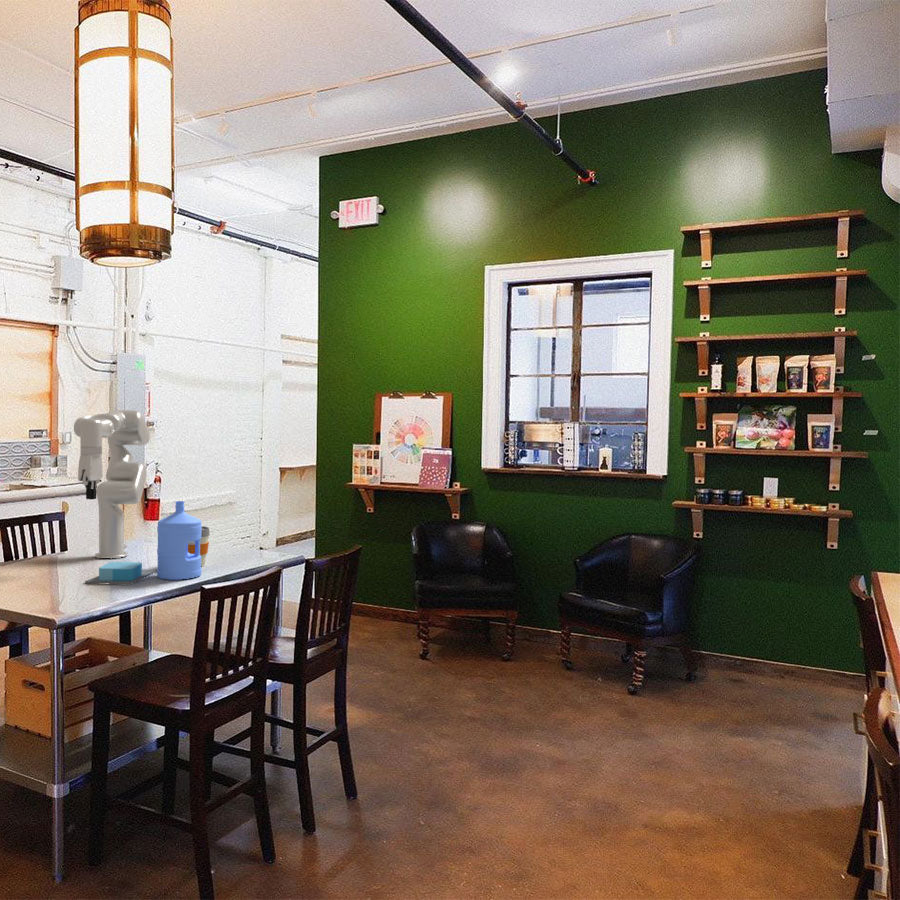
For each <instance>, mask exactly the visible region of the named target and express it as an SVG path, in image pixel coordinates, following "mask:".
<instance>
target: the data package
mask: <svg viewBox="0 0 900 900" xmlns="http://www.w3.org/2000/svg"><path fill="white" fill-rule="evenodd" d="M142 570H143V563H142V562H141V561H139V562H138V561H122V562H121V561H111V562H110V561H109V562H108V563H106V564H103V565H101V566H100V567H98V576H99V580H100V581H132V580H134V579H136V578H137V577H139V576H140V575H142Z"/></svg>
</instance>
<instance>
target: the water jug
mask: <svg viewBox="0 0 900 900" xmlns="http://www.w3.org/2000/svg"><path fill="white" fill-rule="evenodd" d="M174 508H175V511H174V513H172V514H170V515H168V516H165V517H164V518H162V519H159V520H158V521H157V530H156V531H157V549H156V553H157V554H156V555H157V573H156V575H157V577H158V578H159V579H161V580H164V579H169V580H168V581H183V580H182V579H187V580H190V579H189V578H193V579H195V578H194V577H196V578H199V577H200V576H201V575H202V567H201V556H200V539H201V532H202V526H203V525H202V520H201V519H200V518H198V517H196V516H192V515H190V513H189V514H188V513H186V512H185V501H183V500H181V501H180V500H177V501H175V507H174ZM188 541H195V554H190V553H188ZM198 576H199V577H198Z"/></svg>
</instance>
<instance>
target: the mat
mask: <svg viewBox="0 0 900 900" xmlns="http://www.w3.org/2000/svg"><path fill="white" fill-rule="evenodd" d="M157 570H158V569H157ZM157 570H154V569H142V575H140V576H139V577H137V578H136V579H134V580H132V581H100V580H99V575H97V576H94V577H92V578H90V579H88V580H85V581H84V584H86V583H109V584H108V585H112V584H130V585H132V584H131V583H133V582H135V581H137V582H139V581H141V580H143V579H142V578H144V577H146V578H148V577H150V576H152V575H154V574H153V573H155V572H157ZM151 574H152V575H151ZM155 574H156V573H155ZM149 575H150V576H149ZM147 576H148V577H147ZM140 579H141V580H140ZM144 579H145V578H144ZM138 580H139V581H138ZM135 583H136V582H135ZM133 584H134V583H133Z"/></svg>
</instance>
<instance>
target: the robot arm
mask: <svg viewBox="0 0 900 900" xmlns="http://www.w3.org/2000/svg"><path fill="white" fill-rule="evenodd" d="M73 431H74V434H75V436H77V437H78V438H80V442H79V443H80V449H79V450H80V451H79V452H80V453H79V454H80V455H79V461H78V469H77V471H78V472H77V480H78V481H79V482H82V483H81V484H82V485H83V486H85V487H84V488H85V499H86V500H96V499H97V505H98V552H97V553H95V554H94V558H95V557H97V558H96V559H99V558H111V559H110V560H113V559H112V558H116V559H122V558H121V557H123V558H126V557H127V556H129V555H128V552H127V551H124V549H127V548H128V544H126V543H125V540H124V539H125V538H124V537H125V536H124V534H125V533H124V532H125V520H124V519H125V517H124V516H125V515H124V512H123V510H122V508H121V507H120V506H119V505H136V504H139V503H140V501H141V500H142V496H143V492H144V489H145V484H146V480H147V473H148V472H147V467H146V466H145V465H144V463H141V462H133V461H132V460H133V455H132V454H131V452H130V451H129V450H128V449H127V448H126V447H124V446H144V445H145V446H146V445H147V444H148V443H149V442H150V438H151V436H150V430H149V428H148V425H147V422H146V419H145V417H144V416H143V414H142V413H141V412H140V411H138V410H131V409H130V410H128V409H126V410H124V409H120V410H119V409H117V410H116V409H115V410H112V411H108V412H106V413H99V414H93V415H85V416H84V415H83V416H81V417H79V418H77V419H76V420H75V422H74V424H73ZM105 438H106V439H107V443H108V448H109V451H110V460H109V462H108V466H107V469H106V475H105V479H106V481H102V482H101V480H102V479H103V474H104V473H103V472H104V471H103V459H102V456H103V439H105ZM125 556H126V557H125Z"/></svg>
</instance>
